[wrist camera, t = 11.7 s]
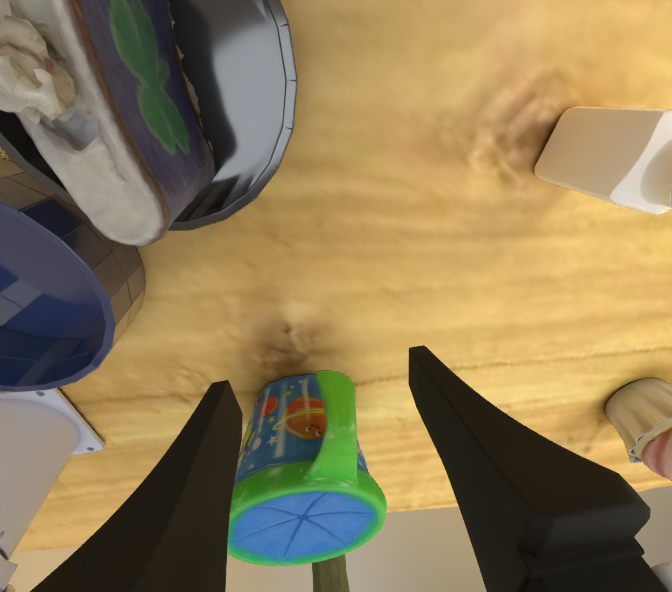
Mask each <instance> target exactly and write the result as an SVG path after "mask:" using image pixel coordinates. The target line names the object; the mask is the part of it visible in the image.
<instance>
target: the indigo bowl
mask: <svg viewBox="0 0 672 592" xmlns="http://www.w3.org/2000/svg"><path fill="white" fill-rule="evenodd" d="M144 292H145V274H144V268H143V265H142V261H141V258H140V256H139V253H138V251H137V248H136V247H135V246H131V245H125V244H120V243H118V242H116V241H113V240H110V239H109V238H107V237H106V236H105V235H103V234H102V233H101V232H100V231H99V230H98V229H97V228H96V227H95V226H94V225H93V223H92V222H91V220H90V219H89V217H88V216H87V215H86V214H85V213H84V212H83V211H82V210H81V209H80V208H79V207H77V206H75V205H73V204H70V203H68V202H66V201H65V200H63V199H62V198H60V197H59V196H57V195H56V194H55V193H53V192H52V191H51V190H49V189H48V188H46V187H45V186H44V185H42V184H41V183H40V182H38V181H37V180H36V179H34V178H33V177H31V176H30V175H29V174H27V173H26V172H25V171H23V170H22V169H21V168H20V167H18V165H17V164H16V163H15V162H14V161H11V160H5V159H0V391H8V392H27V391H40V390H50V389H53V388H57V387H60V386H64V385H67V384H70V383H74V382H76V381H78V380H80V379H81V378H83V377H85V376H86V375H88V374H89V373H91V372H92V371H94V370H96V369H97V368H98V367H99V366H100V364H101V363H102V362H103V360H104V359H105V357H106V356H107V355H108V353H109V352H110V351H111V349H112V348H113V346H114V345H115V343H116V342H117V340H118V339H119V338H120V336H121V335H122V333H123V332H124V330H125V329H126V327H127V326H128V325H129V323H130V322H131V320H132V319H133V317H134V316H135V314H136V313H137V312H138V310H139V309H140V306H141V303H142V300H143V296H144Z"/></svg>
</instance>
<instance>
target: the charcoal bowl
mask: <svg viewBox="0 0 672 592" xmlns="http://www.w3.org/2000/svg"><path fill="white" fill-rule="evenodd" d="M168 2H169V8H170V12H171V16H172V20H173V21H175V24H173V36H174V39H175V43H176V44H177V46H178V48H179V49H180V52H181V53H182V54H183V55H184V57H183V58H182V59H181V60H180V61H181V67H182V71H183V72H184V74H185V75H186V77H187V78H188V82H191V85H192V86H193V87H194V92H195V94H196V96H197V97H198V106H199V109H200V114H199V115H200V118H201V122H200V123H201V124H202V128H203V132H204V135H205V137H206V139H207V141H210V143H211V146H212V147H213V149H212V152H213V157H214V164H215V171H216V172H215V175H214V178H213V179H212V181H211V182H210V183H209V185H208V186H206V187H205V188H204V189H203V190H202V191H201V192H200V193H199V194H198V195H197V196H196V197H195V198H194V199H193V201H192V202H191V203H190V204H188V205H187V207H186V208H185V209H184V210H183V211H182V212H181V213H180V215H179V216H178V217H177V218H176V219H175V220H174V221H173V223H172V224H171V226H170V228H169V230H168V231H184V230H193V229H197V228H200V227H203V226H206V225H210V224H213V223H216V222H220V221H223V220H225V219H227V218H229V217H230V216H232V215H233V214H234V213H236V212H237V211H239V210H240V209H242V208H243V207H245V206H246V205H248V204H249V203H250V202H252V201H253V200H254V199H256V197H257V196H258V195H259V194H260V192H261V191H262V190H263V188H264V187H265V186H266V184H267V183H268V182H269V181H270V179H271V178H272V177H273V175H274V174H275V173H276V172H277V170H278V168H279V166H280V163H281V160H282V158H283V155H284V152H285V150H286V147H287V144H288V142H289V139H290V136H291V134H292V131H293V130H292V129H293V125H294V114H295V103H296V92H297V74H296V67H295V60H294V54H293V47H292V40H291V34H290V27H289V24H288V20H287V17H286V15H285V12H284V9H283V7H282V4H281V2H280V0H168ZM0 147H1V148H2V149H3V151H4V152H5V153H6V154H7V155H8V156H9V157H10V158H11V159H12V160H13V161H14V162H15V163H16V164H17V165H18V167H20V168H21V169H22V170H23V171H25V172H26V173H27V174H29V175H30V176H31V177H33V178H34V179H36V180H37V181H38V182H40V183H41V184H42V185H44V186H45V187H46V188H48V189H49V190H51V191H52V192H53V193H55V194H56V195H57V196H59V197H60V198H62V199H63V200H65V201H66V202H68V203H70V204H73V205H75V206H77V207H78V205H77V204H76V203H75V201H74V200H73V198H72V197H71V195H70V194H69V192H68V191H67V189H66V188H65V186H64V185H63V183H62V182H61V180H60V179H59V178H58V176H57V175H56V174H55V172H54V171H53V170H52V168H51V167H50V166H49V164H48V163H47V162H46V161H45V159H44V158H43V157H42V155H41V154H40V153H39V151H38V149H37V147H36V145H35V143H34V141H33V140H32V138H31V137H30V136H29V135H28V133H27V132H26V131H25V129H24V127H23V125H22V123H21V121H20V119H19V118H18V117H17V115H16V114H15V113H14V112H5V111H3V110H0Z"/></svg>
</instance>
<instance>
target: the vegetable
mask: <svg viewBox="0 0 672 592" xmlns="http://www.w3.org/2000/svg"><path fill="white" fill-rule="evenodd" d="M312 570H313V592H350V591H349V585H348V580H347V572H346V560H345V554H342V555H340V556H337V557H334V558H330V559H327V560H323V561H319V562H314V563H312Z"/></svg>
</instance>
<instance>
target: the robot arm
mask: <svg viewBox="0 0 672 592" xmlns="http://www.w3.org/2000/svg"><path fill="white" fill-rule="evenodd" d="M409 386H410V389H411V392H412V395H413V398H414V401H415V404H416V407H417V409H418V411H419V414H420V416H421V418H422V420H423V422H424V424H425V426H426V428H427V431H428V433H429V435H430V437H431V439H432V441H433V443H434V445H435V447H436V450H437V452H438V454H439V456H440V458H441V460H442V463H443V465H444V467H445V470H446V472H447V475H448V478H449V480H450V483H451V486H452V489H453V491H454V494H455V497H456V500H457V503H458V505H459V508H460V511H461V514H462V517H463V520H464V523H465V525H466V528H467V531H468V534H469V537H470V540H471V543H472V546H473V549H474V552H475V556H476V559H477V562H478V565H479V568H480V571H481V574H482V577H483V581H484V584H485V587H486V590H487V592H672V561H669V562H665V563H661V564H658V565H656V566H654V567H652V568H650V567H649V565H648V564H647V563H646V562H645V560H644V559H643V558H642V556H641V555H643V554H644V549H643V548H642V547H641V546H640V544H639V543H638V542H637V541H636V539H635V538H634V536H635V535H636V534H637V533H638V532H639V531H640V529H641V528H642V527H643V526H644V525H645V524H646V523H647V521H648V520H649V518H650V508H649V506H648V505H647V504H646V503H645V502H644V501H643V500H642V499H641V497H640V496H639V495H638V494H637V492H636V491H635V490H634V489H633V488H632V487H631V486H630V485H629V484H628V483H627V482H626V481H625V480H624V479H623V478H622V476H621V475H620V474H619V473H616V472H614V471H612V470H610V469H608V468H605V467H603V466H601V465H599V464H597V463H594V462H592V461H590V460H588V459H586V458H583V457H581V456H579V455H577V454H575V453H573V452H571V451H569V450H567V449H565V448H563V447H561V446H560V445H558V444H556V443H554V442H552V441H550V440H548V439H547V438H545V437H543V436H541V435H540V434H538V433H536V432H534V431H533V430H531V429H529V428H528V427H526V426H524V425H522V424H521V423H519V422H518V421H516V420H515V419H513V418H511V417H510V416H508V415H507V414H506V413H504V412H503V411H501V410H500V409H498V408H497V407H495V406H494V405H493V404H491V403H490V402H489V401H487V400H486V399H485V398H483V397H482V396H481V395H479V394H478V393H477V392H476V391H474V390H473V389H472V388H471V387H469V386H468V385H467V384H466V383H465V382H464V381H462V380H461V379H460V378H459V377H458V376H457V375H455V374H454V373H453V372H452V371H451V370H450V369H449V368H448V367H447V366H445V365H444V364H443V363H442V362H441V361H440V360H439V359H438V358H437V357H436V356H435V355H434V354H433V353H432V352H431V351H430V350H429V349H428V348H427V347H426V346H424V345H423V346H417V347H412V348H409ZM242 416H243V414H242V411H241V409H240V407H239V404H238V402H237V400H236V397H235V395H234V392H233V390H232V388H231V385H230V383H229V381H228V380H225V381H220V382H214V383H212V384H211V385H210V387H209V389H208V390H207V392H206V393H205V395H204V397H203V398H202V400H201V401H200V403H199V405H198V406H197V408H196V409H195V411H194V413H193V414H192V416H191V417H190V419H189V420H188V422H187V423H186V425H185V426H184V428H183V429H182V431H181V432H180V434H179V435H178V437H177V438H176V439H175V441H174V442H173V443H172V445H171V446H170V448H169V449H168V450H167V452H166V453H165V454H164V456H163V457H162V458H161V460H160V461H159V462H158V464H157V465H156V466H155V467H154V469H153V470H152V471H151V472H150V474H149V475H148V476H147V477H146V478H145V480H144V481H143V482H142V483H141V484H140V486H139V487H138V488H137V489H136V490H135V491H134V492H133V494H132V495H131V496H130V497H129V498H128V499H127V500H126V501H125V502H124V503H123V504H122V505H121V507H120V508H119V509H118V510H117V511H116V512H115V513H114V514H113V515H112V516H111V517H110V518H109V519H108V520H107V521H106V522H105V523H104V524H103V525H102V526H101V527H100V528H99V529H98V530H97V531H96V532H95V533H94V534H93V535H92V536H91V537H90V538H89V539H88V540H87V541H86V542H85V543H84V544H83V545H82V546H81V547H80V548H79V549H78V550H77V551H75V552H74V553H73V554H72V555H71V556H70V557H69V558H68V559H67V560H66V561H65V562H63V563H62V564H61V565H60V566H59V567H58V568H57V569H55V570H54V571H53V572H52V573H51V574H50V575H49V576H47V577H46V578H45V579H44V580H43V581H42V582H41V583H39V584H38V585H37V586H36V587H35V588H34V589H32V590H31V591H30V592H225V587H226V564H227V546H228V532H229V518H230V508H231V500H232V494H233V488H234V482H235V476H236V470H237V465H238V458H239V452H240V446H241V439H242ZM104 445H105V444H104V442H103V441H102V440H101V439H100V438H99V436H98V435H97V434H96V433H95V432H94V431H93V429H92V428H91V427H90V426H89V425H88V424H87V422H86V421H85V420H84V419H83V418H82V417H81V415H80V414H79V413H78V412H77V411H76V409H75V408H74V407H73V406H72V405H71V404H70V402H69V401H68V400H67V399H66V398H65V397H64V395H63V394H62V393H61V392H60V391H59V389H58V388H53V389H50V390H40V391H27V392H8V391H4V392H0V592H15V589H14V587H13V586H12V585H10V584H8V582H9V580H10V579H11V577H12V575H13V573H14V571H15V570H16V568H17V566H18V565H17V564H14V563H11V562H9V561H8V560H9V559H10V557H11V555H12V554H13V552H14V550H15V549H16V547H17V545H18V544H19V542H20V540H21V539H22V537H23V535H24V534H25V532H26V530H27V529H28V527H29V525H30V524H31V522H32V520H33V519H34V517H35V515H36V514H37V512H38V510H39V509H40V507H41V505H42V504H43V502H44V500H45V499H46V497H47V495H48V494H49V492H50V490H51V489H52V487H53V485H54V484H55V482H56V480H57V478H58V477H59V475H60V473H61V472H62V470H63V468H64V467H65V465H66V463H67V462H68V460H69V458H70V457H71V456H74V455H79V454H85V453H90V452H96V451H100V450H102V449H103V447H104Z"/></svg>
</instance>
